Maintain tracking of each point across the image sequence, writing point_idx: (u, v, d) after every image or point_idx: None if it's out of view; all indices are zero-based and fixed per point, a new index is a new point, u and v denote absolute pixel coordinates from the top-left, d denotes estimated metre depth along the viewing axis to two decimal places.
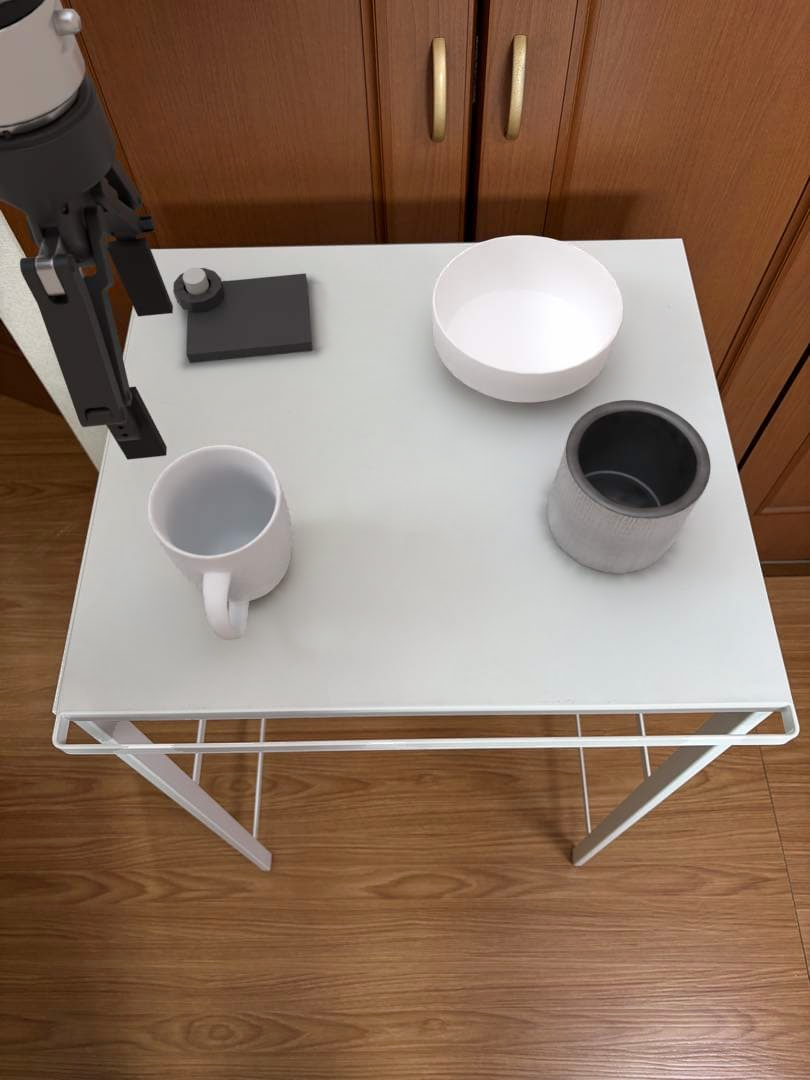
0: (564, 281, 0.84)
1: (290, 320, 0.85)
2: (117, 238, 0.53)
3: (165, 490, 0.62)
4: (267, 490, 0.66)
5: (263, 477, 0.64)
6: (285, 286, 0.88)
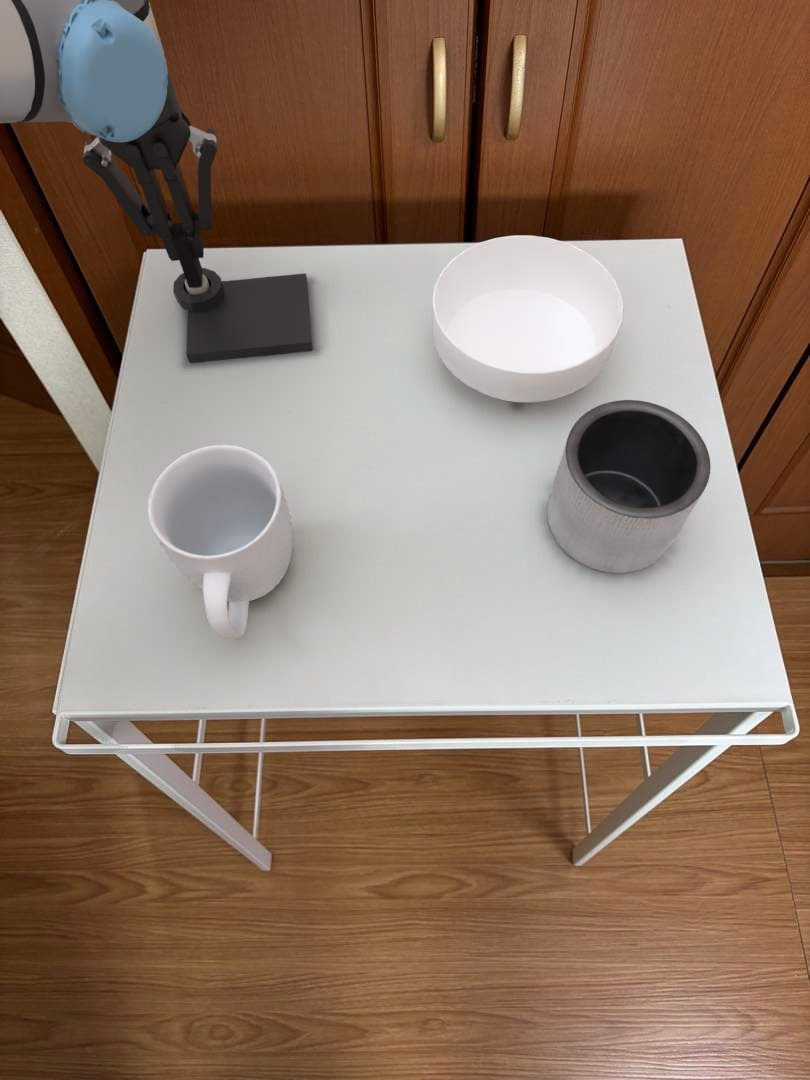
0: (564, 281, 0.84)
1: (290, 320, 0.85)
2: (172, 234, 0.79)
3: (165, 490, 0.62)
4: (267, 490, 0.66)
5: (263, 477, 0.64)
6: (285, 286, 0.88)
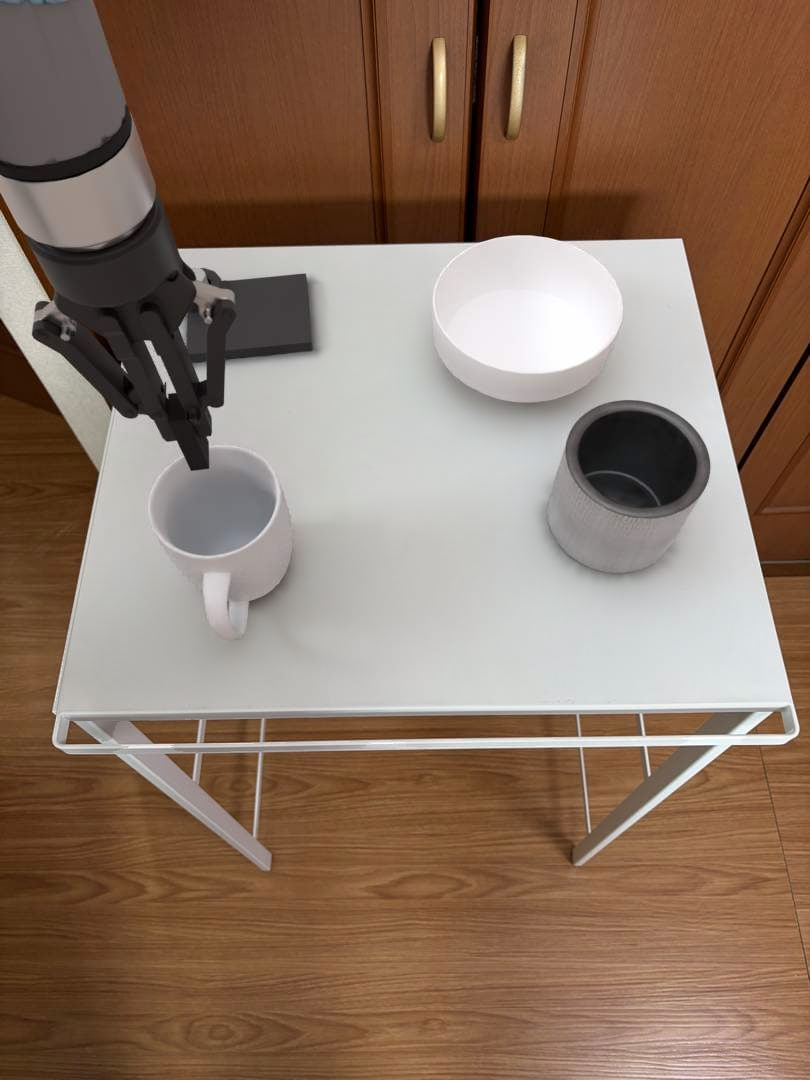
0: (564, 281, 0.84)
1: (290, 320, 0.85)
2: (167, 412, 0.55)
3: (165, 490, 0.62)
4: (267, 490, 0.66)
5: (263, 477, 0.64)
6: (285, 286, 0.88)
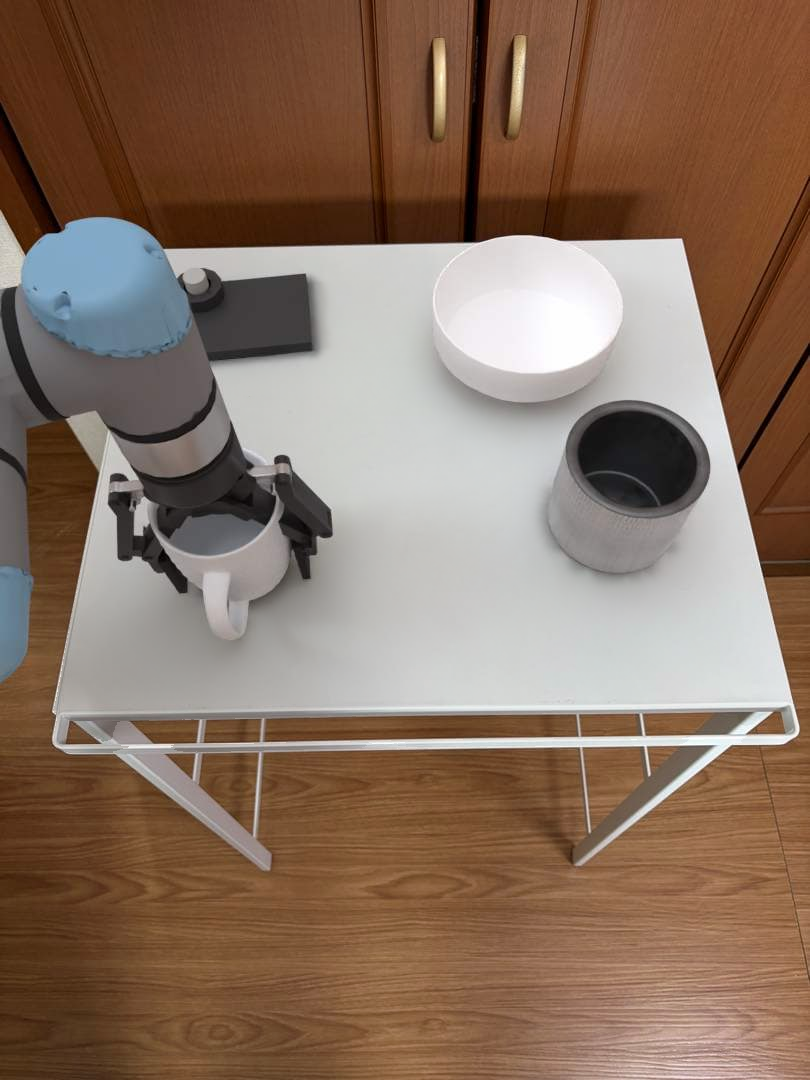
0: (564, 281, 0.84)
1: (290, 320, 0.85)
2: None
3: None
4: (267, 490, 0.66)
5: None
6: (285, 286, 0.88)
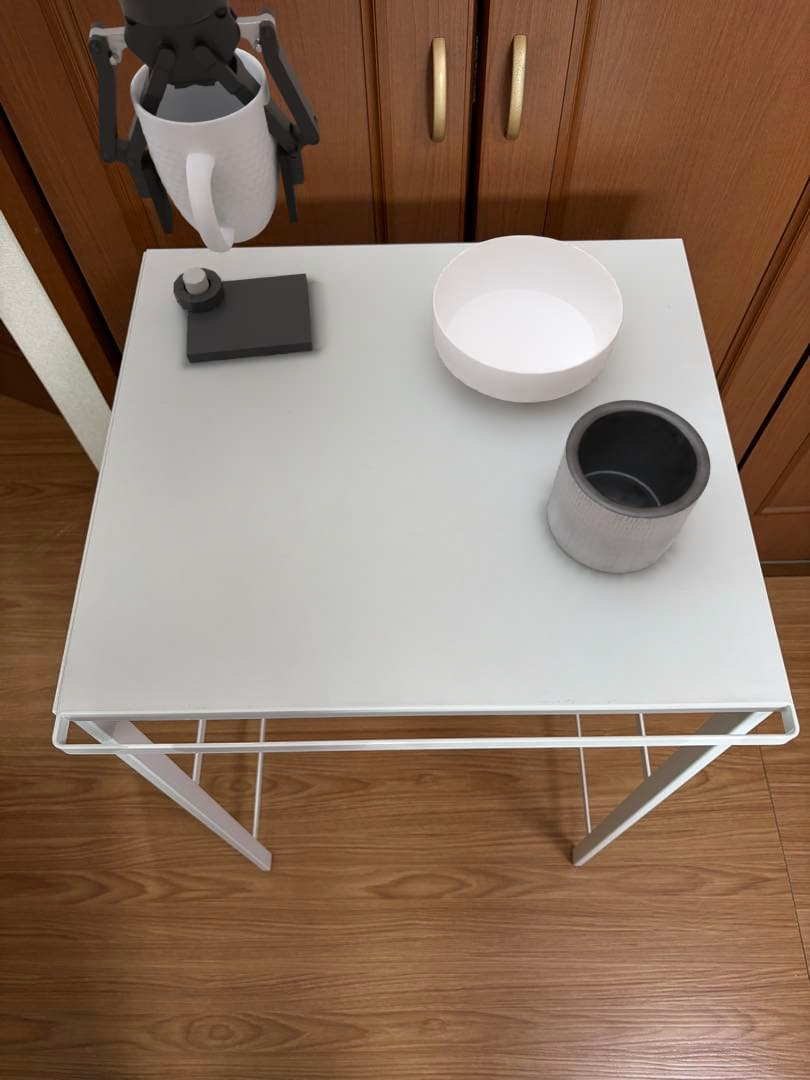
0: (564, 281, 0.84)
1: (290, 320, 0.85)
2: (141, 162, 0.63)
3: None
4: None
5: None
6: (285, 286, 0.88)
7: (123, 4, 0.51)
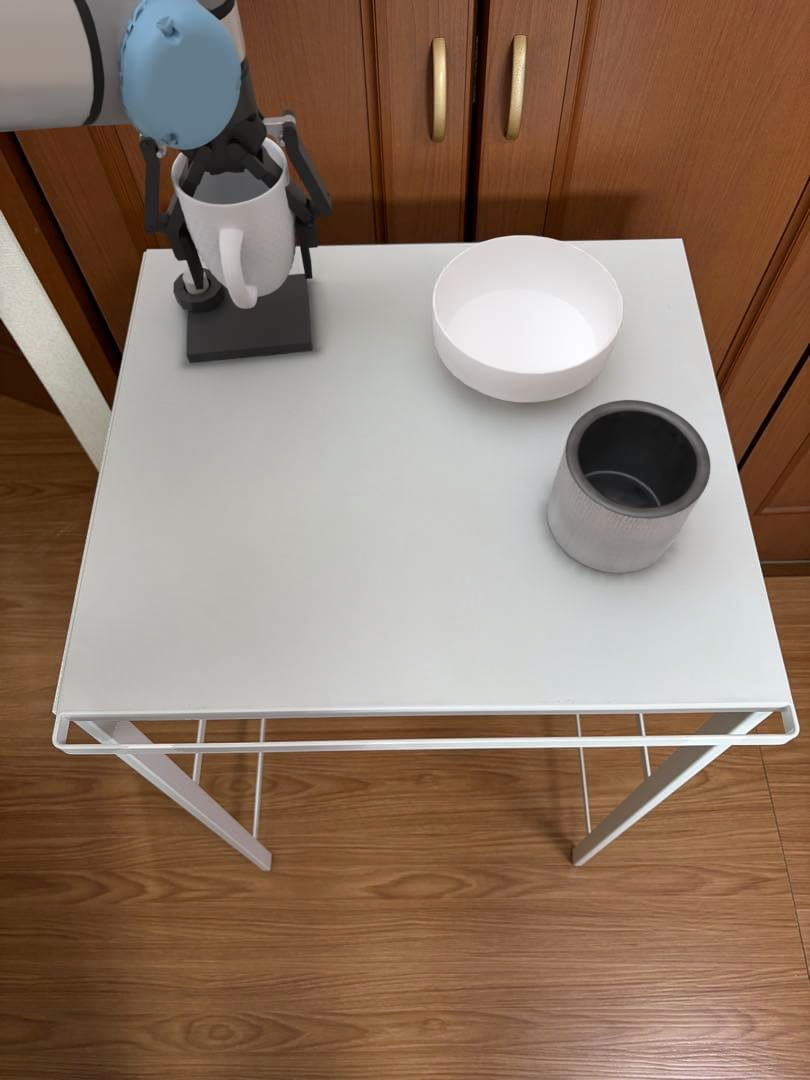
0: (564, 281, 0.84)
1: (290, 320, 0.85)
2: (178, 232, 0.73)
3: None
4: None
5: None
6: (285, 286, 0.88)
7: None
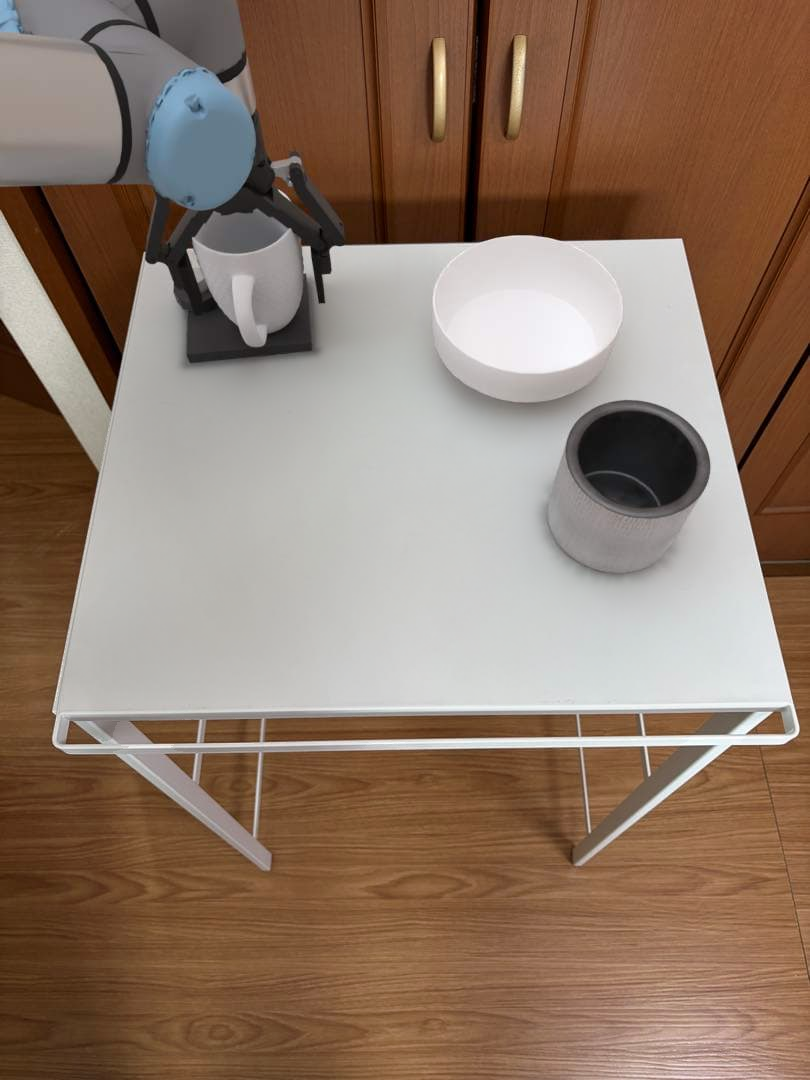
0: (564, 281, 0.84)
1: None
2: None
3: None
4: (283, 230, 0.80)
5: None
6: None
7: None
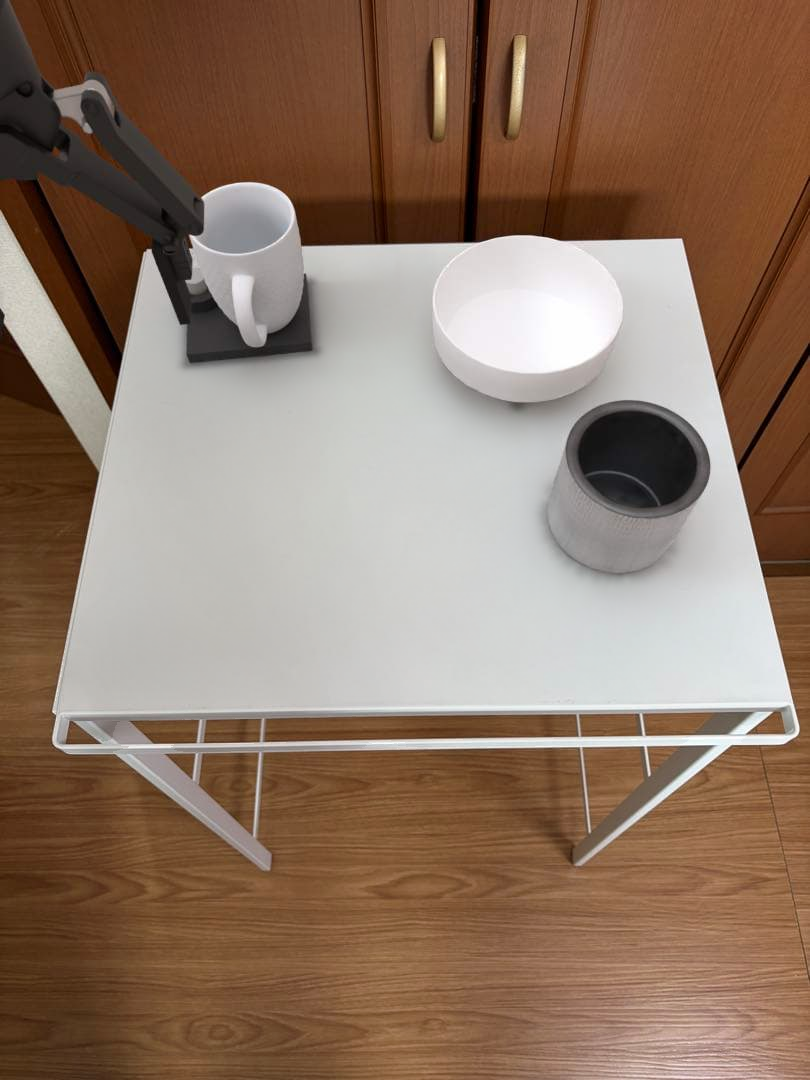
0: (564, 281, 0.84)
1: None
2: None
3: None
4: (283, 230, 0.80)
5: (280, 211, 0.78)
6: None
7: None
